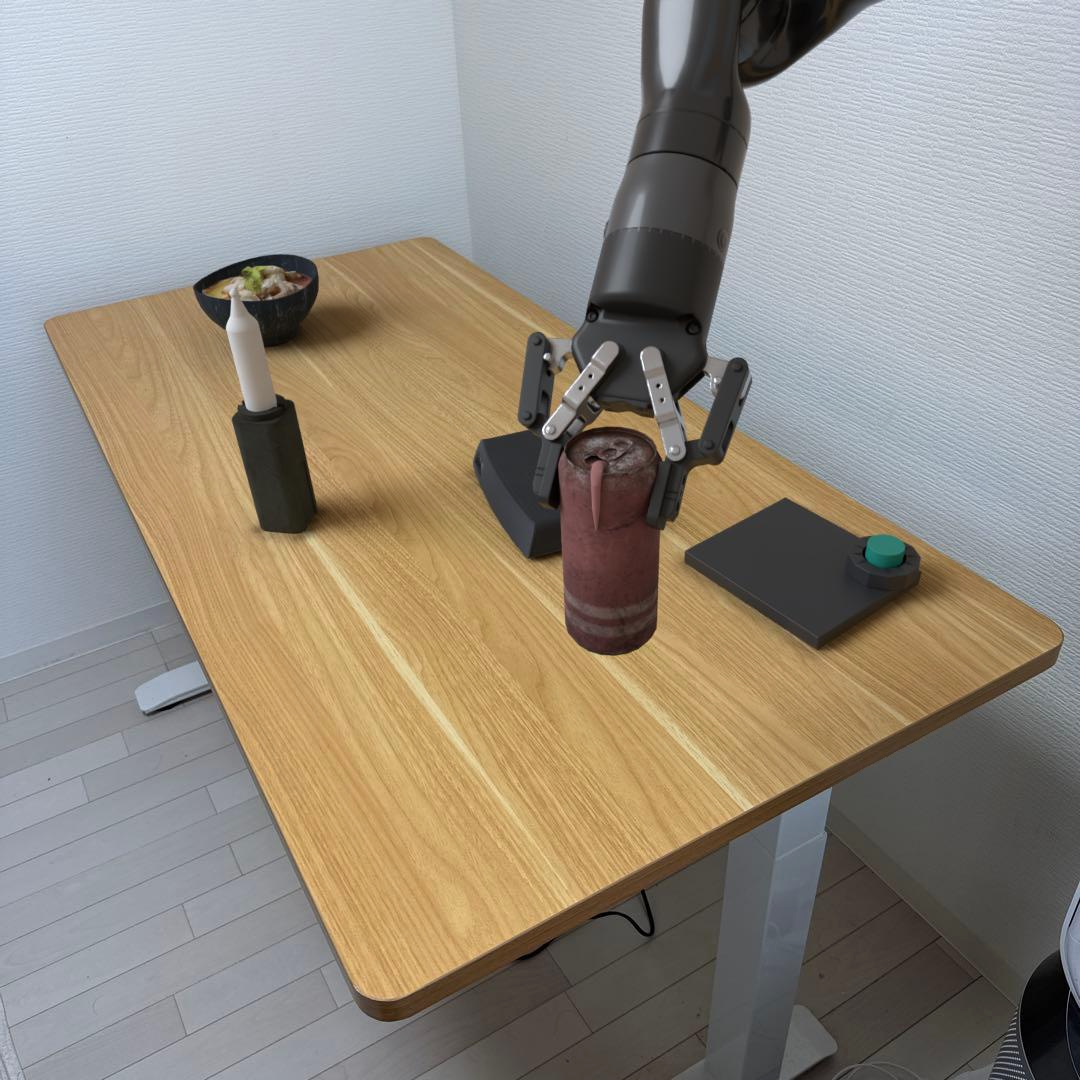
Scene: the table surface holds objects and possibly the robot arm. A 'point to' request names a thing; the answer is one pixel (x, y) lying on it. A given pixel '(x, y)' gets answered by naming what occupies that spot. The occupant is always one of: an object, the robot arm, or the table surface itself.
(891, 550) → the button
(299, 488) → the candle
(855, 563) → the scale
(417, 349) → the table surface
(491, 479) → the hard drive
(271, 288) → the bowl
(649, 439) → the can
